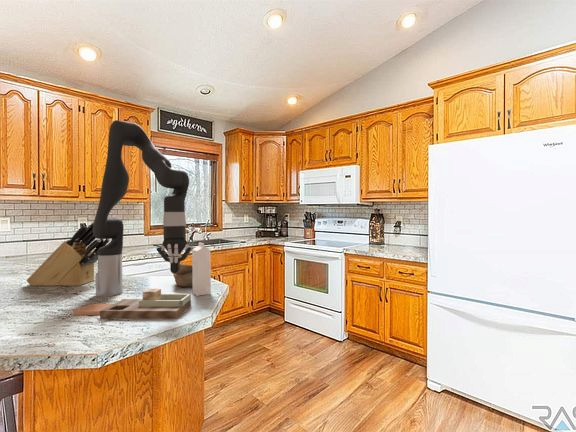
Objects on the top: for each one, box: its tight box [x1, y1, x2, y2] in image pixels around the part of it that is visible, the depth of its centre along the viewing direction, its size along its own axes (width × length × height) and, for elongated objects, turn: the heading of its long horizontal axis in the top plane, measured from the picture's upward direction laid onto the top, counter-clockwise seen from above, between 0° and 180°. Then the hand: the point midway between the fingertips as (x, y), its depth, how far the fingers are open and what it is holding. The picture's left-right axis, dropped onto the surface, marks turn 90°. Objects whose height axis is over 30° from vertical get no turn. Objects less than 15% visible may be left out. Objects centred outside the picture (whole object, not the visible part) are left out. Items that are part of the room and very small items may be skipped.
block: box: [142, 288, 162, 300], centre depth 111 cm, size 4×4×4 cm
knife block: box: [26, 221, 111, 287], centre depth 153 cm, size 11×35×31 cm, turn 89°
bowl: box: [173, 263, 193, 288], centre depth 147 cm, size 18×14×10 cm
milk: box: [191, 241, 212, 297], centre depth 133 cm, size 6×6×22 cm
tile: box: [73, 303, 114, 316], centre depth 110 cm, size 9×9×1 cm
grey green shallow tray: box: [139, 293, 192, 307], centre depth 111 cm, size 15×9×2 cm, turn 89°
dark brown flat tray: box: [99, 298, 192, 320], centre depth 108 cm, size 26×14×2 cm, turn 89°
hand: (175, 273), depth 110 cm, fingers closed
